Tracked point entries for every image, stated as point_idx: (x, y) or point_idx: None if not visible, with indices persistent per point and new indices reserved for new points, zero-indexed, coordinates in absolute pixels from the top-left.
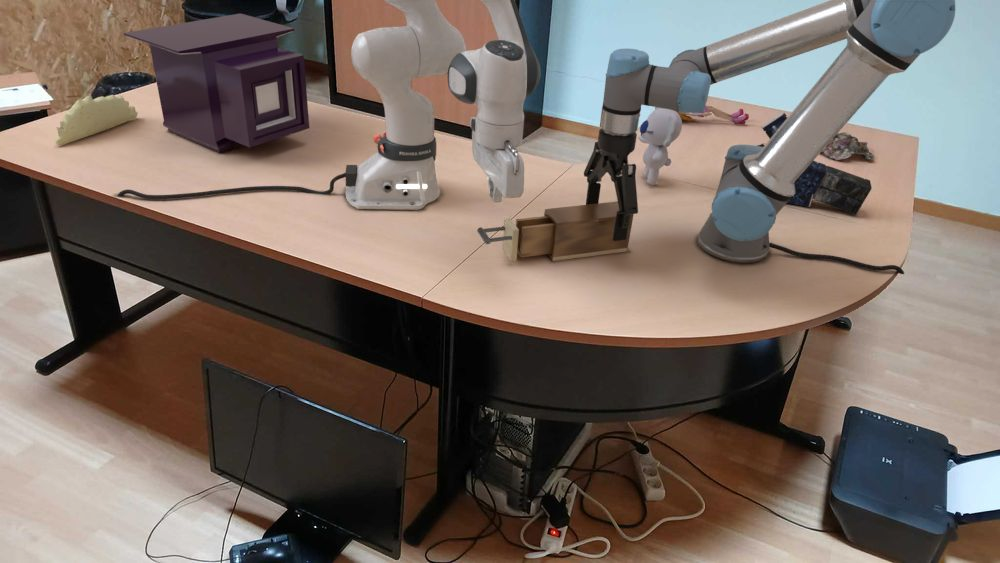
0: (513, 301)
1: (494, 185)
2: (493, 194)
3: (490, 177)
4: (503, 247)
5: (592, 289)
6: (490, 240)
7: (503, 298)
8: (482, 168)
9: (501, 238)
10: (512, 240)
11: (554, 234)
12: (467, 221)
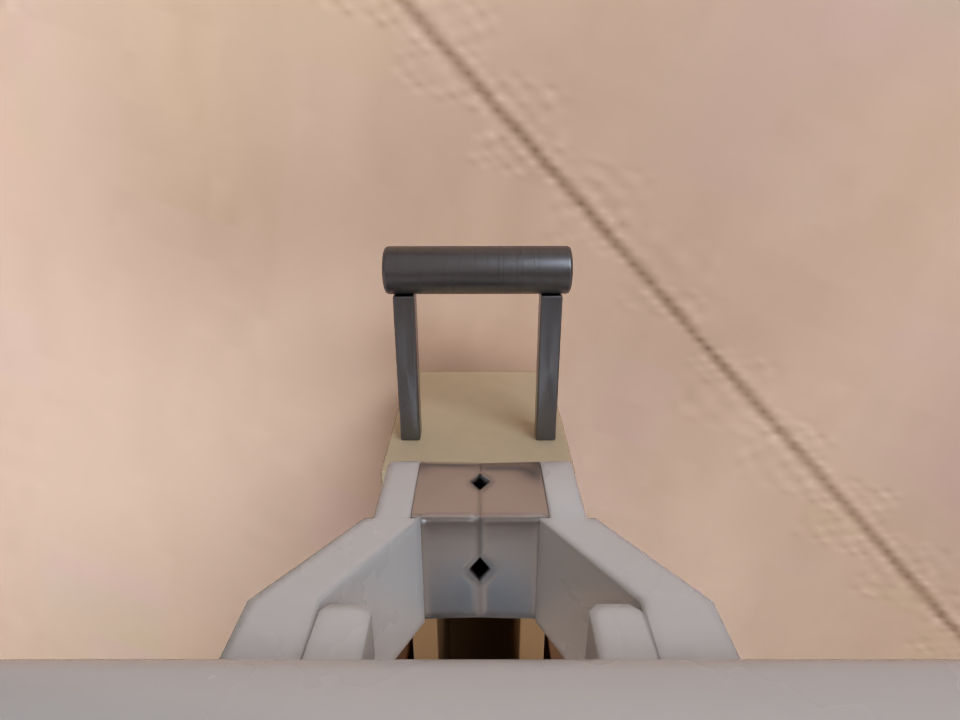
0: (63, 259)
1: (295, 630)
2: (388, 511)
3: (271, 717)
4: (530, 378)
5: (156, 607)
6: (385, 289)
7: (92, 219)
8: (927, 691)
9: (397, 370)
10: (393, 431)
11: (405, 658)
12: (946, 292)
